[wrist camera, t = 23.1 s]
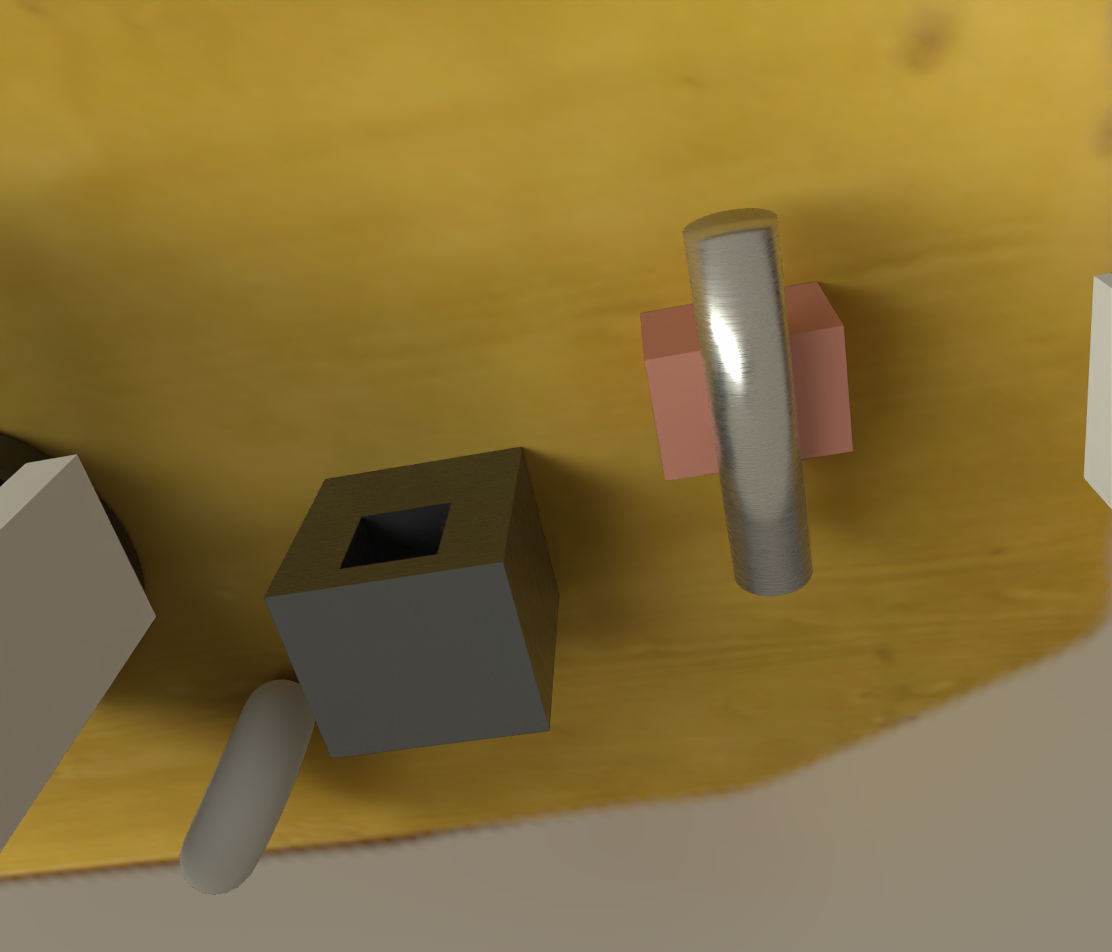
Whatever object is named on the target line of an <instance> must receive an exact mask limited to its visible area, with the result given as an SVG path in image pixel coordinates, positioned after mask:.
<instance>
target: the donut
mask: <svg viewBox="0 0 1112 952" xmlns="http://www.w3.org/2000/svg"><path fill="white" fill-rule="evenodd" d="M314 724H315V719H314V716H313V714H312V711H311V709H310V707H309V704H308V702H307V699H306V697H305V695H304V692H303V690H302V688H301V685H300V684H298V683H296V682H294V681H289V680H285V679H282V680H272V681H270V682H267V683H265V684H263V685H261V686H259V687H258V688H257V689H256V690H255V691H253V692H252V694H251V695H250V697H249V698H248V700H247V701H246V703H245V705H244V708H243V710H242V712H241V714H240V716H239V718H238V721H237V723H236V725H235V727H234V729H233V732H232V734H231V736H230V738H229V740H228V743H227V745H226V747H225V749H224V751H223V754H222V756H221V758H220V760H219V763H218V765H217V767H216V769H215V771H214V774H213V776H212V778H211V780H210V783H209V785H208V787H207V789H206V792H205V794H204V796H203V798H202V801H201V803H200V805H199V807H198V810H197V812H196V814H195V816H194V819H193V821H192V823H191V825H190V828H189V830H188V832H187V835H186V837H185V839H184V842H183V845H182V849H181V852H180V868H181V871H182V874H183V876H184V879H185V880H186V881H187V882H188V883H189V884H190V885H191V887H192V888H194V889H196V890H198V891H200V892H202V893H205V894H212V895H216V894H222V893H227V892H229V891H231V890H233V889H235V888H237V887H238V886H239V885H240V884H241V883H243V882H244V881H245V880H246V879H247V878H248V877H249V876H250V875H251V873H252V871H253V870H254V868H255V866H256V864H257V863H258V861H259V859H260V857H261V856H262V854H263V852H264V850H265V848H266V846H267V844H268V842H269V840H270V838H271V836H272V834H273V831H274V829H275V827H276V825H277V823H278V820H279V818H280V816H281V814H282V811H283V809H284V807H285V804H286V802H287V800H288V797H289V795H290V793H291V790H292V788H293V785H294V783H295V780H296V778H297V775H298V772H299V770H300V767H301V765H302V762H303V759H304V756H305V754H306V751H307V748H308V745H309V742H310V738H311V735H312V732H313V728H314Z"/></svg>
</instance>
